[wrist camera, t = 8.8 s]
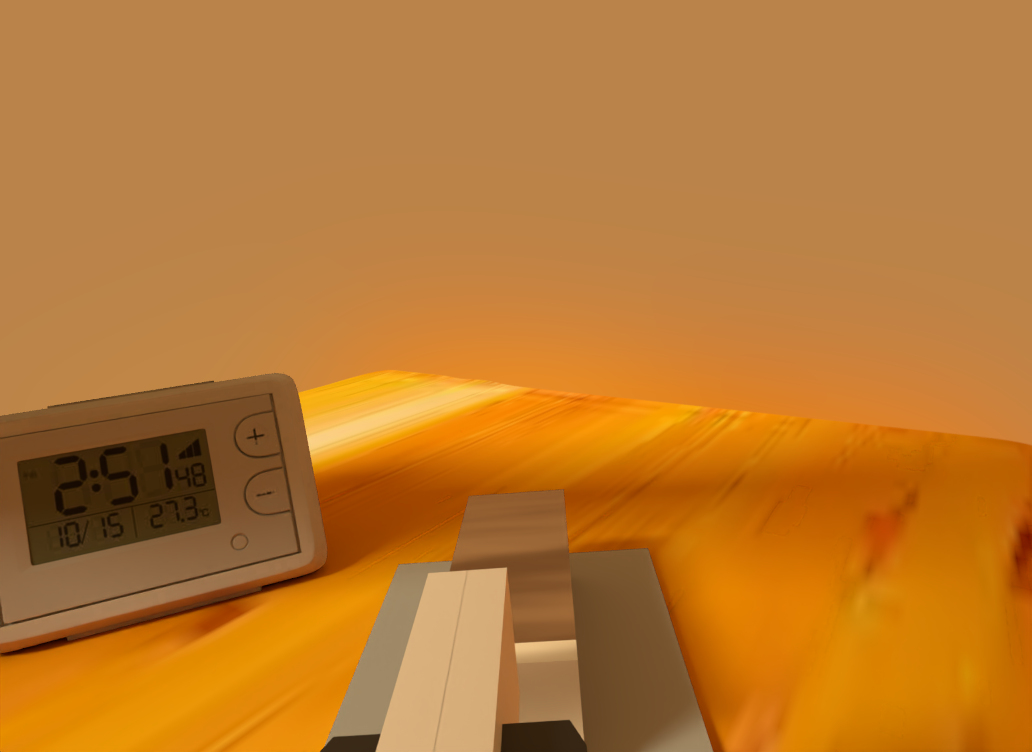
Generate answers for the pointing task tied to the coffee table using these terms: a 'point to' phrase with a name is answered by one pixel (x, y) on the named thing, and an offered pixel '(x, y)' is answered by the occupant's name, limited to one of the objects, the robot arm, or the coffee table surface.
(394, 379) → the coffee table surface
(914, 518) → the coffee table surface
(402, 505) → the coffee table surface
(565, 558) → the walnut block
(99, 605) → the digital clock
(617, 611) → the felt mat
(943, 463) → the coffee table surface
